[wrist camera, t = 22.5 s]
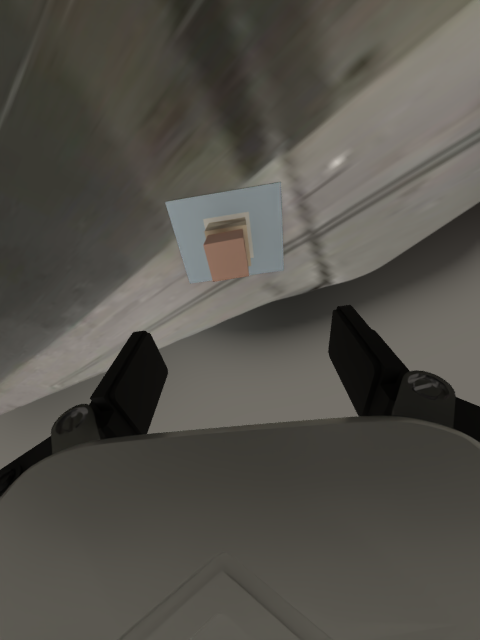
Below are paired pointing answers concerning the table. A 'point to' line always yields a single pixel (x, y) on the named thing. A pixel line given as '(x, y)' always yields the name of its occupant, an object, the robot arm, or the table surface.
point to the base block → (230, 226)
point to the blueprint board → (250, 203)
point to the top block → (226, 255)
